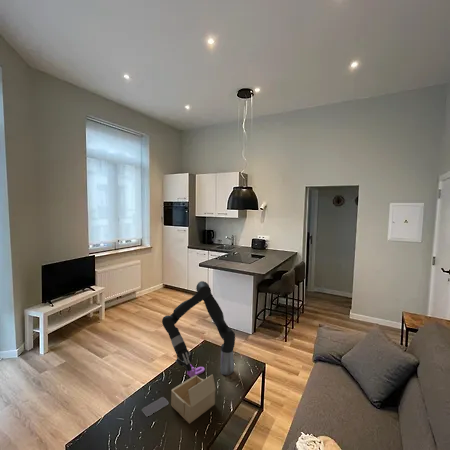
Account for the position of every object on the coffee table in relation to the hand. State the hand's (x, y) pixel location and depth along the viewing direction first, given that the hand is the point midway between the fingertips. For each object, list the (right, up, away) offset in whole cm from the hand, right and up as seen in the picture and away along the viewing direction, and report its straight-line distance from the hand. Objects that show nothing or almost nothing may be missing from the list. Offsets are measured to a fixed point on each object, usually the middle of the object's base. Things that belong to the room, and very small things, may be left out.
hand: (190, 370), depth 158 cm
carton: (+2, -21, -1) cm, 21 cm away
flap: (+8, -7, -8) cm, 13 cm away
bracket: (+1, -19, +30) cm, 35 cm away
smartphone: (-21, -21, -3) cm, 30 cm away
